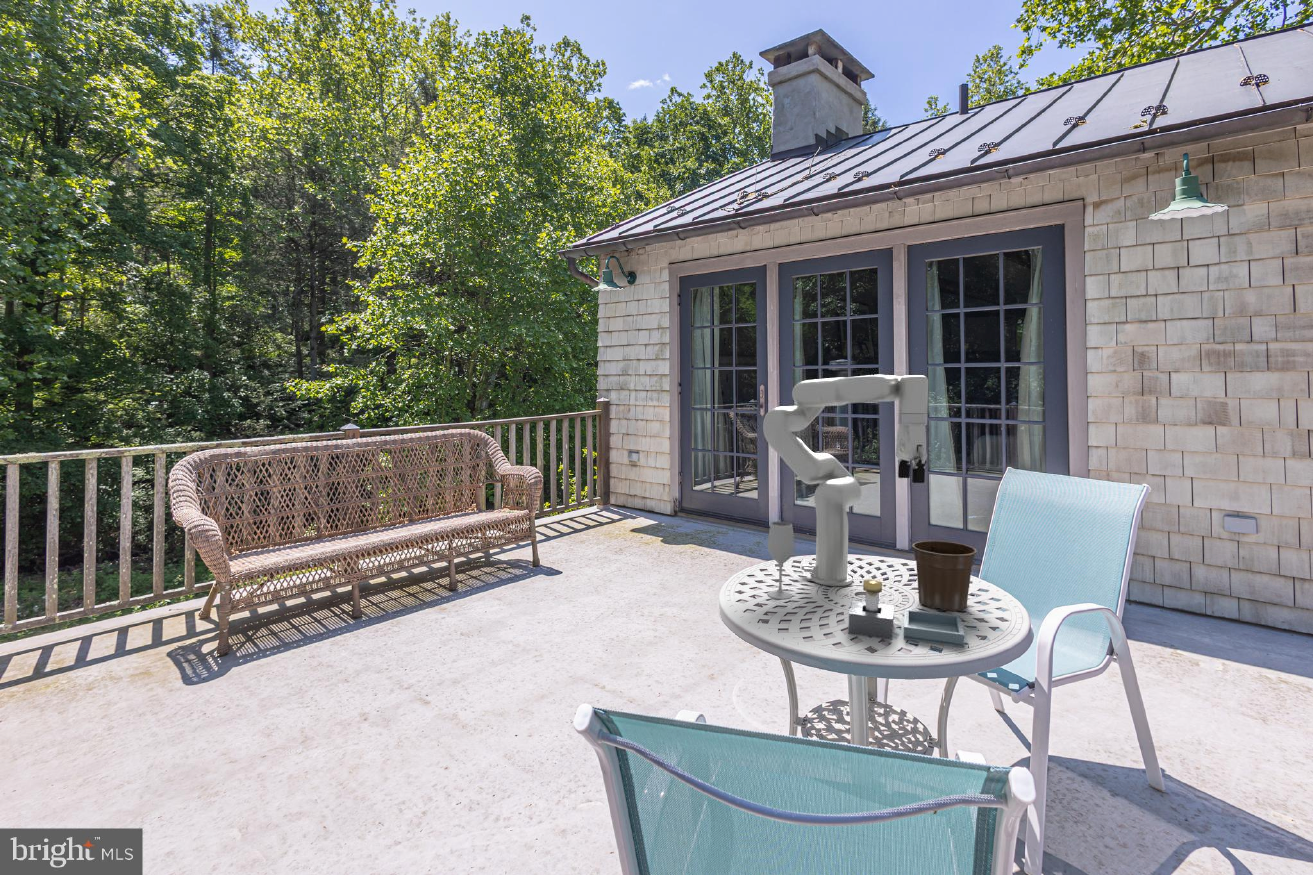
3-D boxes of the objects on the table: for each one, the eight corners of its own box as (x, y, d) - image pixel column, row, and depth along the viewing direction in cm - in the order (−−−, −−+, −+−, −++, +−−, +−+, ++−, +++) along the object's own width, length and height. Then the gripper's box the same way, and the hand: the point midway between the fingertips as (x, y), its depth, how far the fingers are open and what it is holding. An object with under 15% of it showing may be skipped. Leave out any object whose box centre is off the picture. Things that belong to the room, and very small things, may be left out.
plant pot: (897, 598, 178) (899, 542, 177) (940, 591, 184) (942, 537, 183) (942, 617, 163) (945, 557, 162) (987, 609, 169) (990, 551, 168)
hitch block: (848, 633, 153) (849, 613, 152) (852, 619, 162) (852, 600, 162) (892, 639, 149) (892, 619, 149) (893, 625, 158) (893, 605, 158)
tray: (903, 638, 149) (903, 626, 149) (904, 620, 161) (904, 609, 161) (963, 647, 144) (964, 635, 144) (959, 627, 156) (960, 616, 156)
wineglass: (778, 601, 176) (779, 527, 174) (761, 593, 183) (762, 522, 181) (799, 596, 179) (800, 524, 178) (782, 589, 186) (783, 519, 184)
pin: (861, 631, 154) (862, 583, 153) (862, 624, 158) (864, 578, 157) (880, 633, 153) (881, 585, 152) (881, 627, 157) (882, 580, 156)
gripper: (887, 418, 183) (886, 476, 185) (912, 421, 166) (910, 485, 167) (913, 418, 184) (911, 476, 185) (940, 421, 166) (938, 484, 168)
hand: (910, 480), depth 176 cm, fingers open, 9 cm apart
